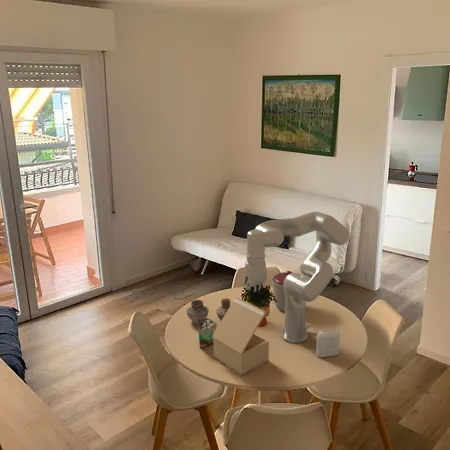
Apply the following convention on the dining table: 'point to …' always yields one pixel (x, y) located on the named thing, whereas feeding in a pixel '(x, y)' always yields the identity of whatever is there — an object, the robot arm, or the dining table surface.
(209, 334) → the food container
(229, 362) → the carton
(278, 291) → the canister
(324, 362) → the dining table surface
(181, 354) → the dining table surface
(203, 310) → the pottery
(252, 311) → the carton lid
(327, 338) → the photo printer
